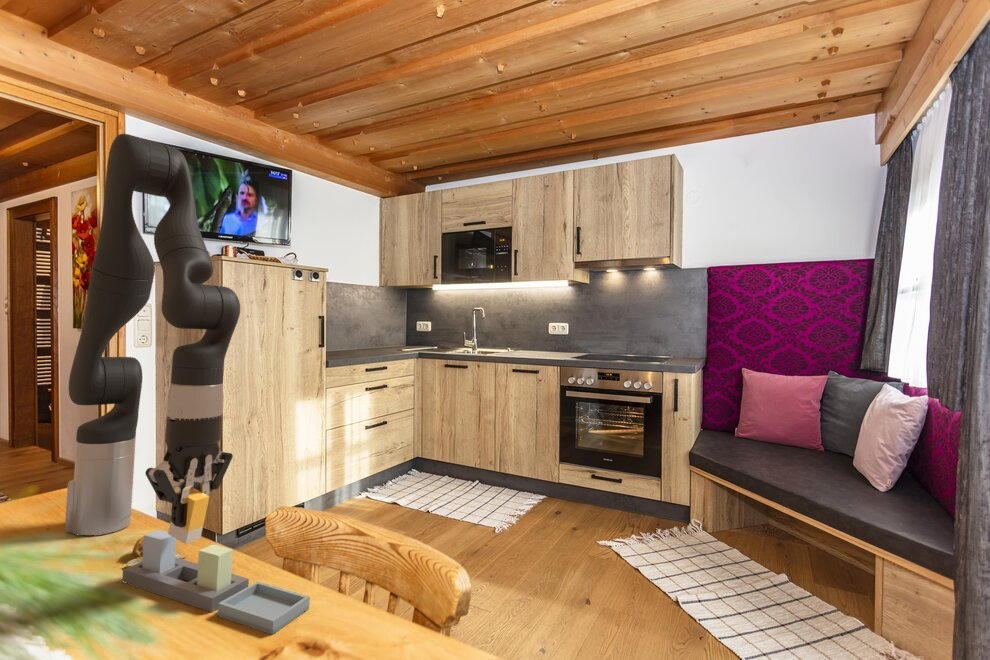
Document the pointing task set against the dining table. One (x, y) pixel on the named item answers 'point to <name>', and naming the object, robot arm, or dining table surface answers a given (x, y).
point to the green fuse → (214, 567)
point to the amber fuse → (192, 518)
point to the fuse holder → (182, 584)
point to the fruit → (139, 553)
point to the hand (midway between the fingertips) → (188, 522)
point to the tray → (263, 607)
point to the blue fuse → (158, 551)
